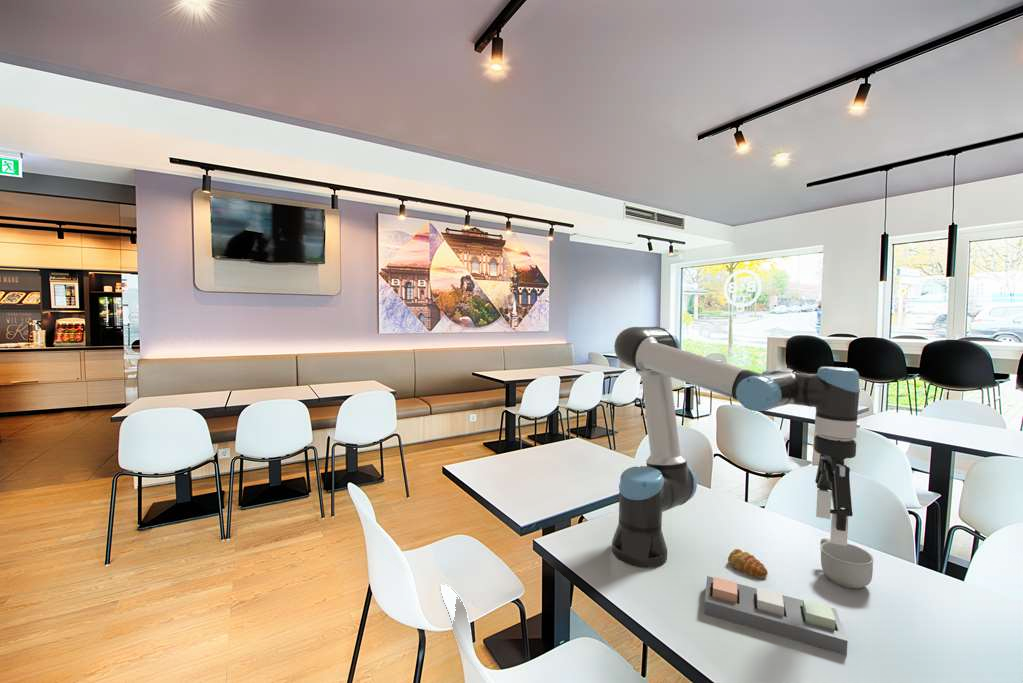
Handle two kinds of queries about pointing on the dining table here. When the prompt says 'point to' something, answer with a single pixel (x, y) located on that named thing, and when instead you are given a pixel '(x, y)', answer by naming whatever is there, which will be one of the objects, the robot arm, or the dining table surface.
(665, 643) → the dining table surface
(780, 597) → the cream key
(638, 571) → the dining table surface
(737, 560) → the pastry
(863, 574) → the teacup
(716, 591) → the terracotta key
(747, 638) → the dining table surface
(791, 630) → the keypad
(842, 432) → the robot arm
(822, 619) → the sage key
